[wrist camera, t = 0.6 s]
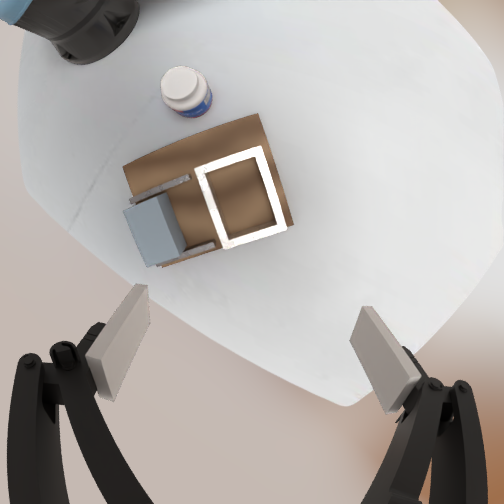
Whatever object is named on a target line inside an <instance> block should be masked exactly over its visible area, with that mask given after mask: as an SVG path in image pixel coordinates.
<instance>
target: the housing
mask: <svg viewBox="0 0 504 504" xmlns="http://www.w3.org/2000/svg"><path fill="white" fill-rule="evenodd" d="M123 212H124V215H125V218H126V220H127V223H128V225H129V227H130V230H131V232H132V235H133V237H134V239H135V242H136V244H137V246H138V249H139V251H140V253H141V256H142V258H143V260H144V262H145V264H146V267H150V266H152V265H155V264H158V263H161V262H164V261H167V260H170V259H173V258H176V257H179V256H180V255H181V254H182V252H183V251H184V249H185V248H186V246H187V244H186V241H185V239H184V236H183V234H182V231H181V229H180V226H179V224H178V221H177V219H176V216H175V213H174V211H173V208H172V206H171V203H170V200H169V198H168V195H167V192H166V193H163V194H161V195H158V196H156V197H154V198H151V199H149V200H147V201H144V202H142V203H140V204H137V205H135V206H133V207H131V208H129V209H126V210H124V211H123Z"/></svg>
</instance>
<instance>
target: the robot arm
mask: <svg viewBox="0 0 504 504" xmlns="http://www.w3.org/2000/svg"><path fill="white" fill-rule="evenodd" d="M138 16H139V5H138V3H137V1H136V0H0V19H1V20H3V21H5V22H7V23H8V24H9V25H15V26H18V27H20V28H23V29H25V30H27V31H30V32H32V33H35V34H37V35H39V36H41V37H44V38H46V39H48V40H50V41H51V42H52V44H53V45H54V47H55V48H56V50H57V51H58V53H59V54H60V56H61V57H62V58H64V59H65V60H67V61H69V62H72V63H74V64H88V63H92V62H95V61H97V60H99V59H101V58H103V57H105V56H106V55H108V54H109V53H111V52H112V51H113V50H115V49H116V48H117V47H118V46H119V45H120V44H121V43H122V42H123V41H124V40H125V39H126V38H127V37H128V35H129V34H130V33H131V31H132V30H133V28H134V26H135V24H136V22H137V19H138ZM149 325H150V316H149V301H148V285H142V284H135V285H134V287H133V288H132V289H131V291H130V292H129V293H128V295H127V296H126V297H125V299H124V300H123V301H122V303H121V304H120V306H119V307H118V308H117V310H116V311H115V313H114V314H113V315H112V317H111V318H110V320H109V321H108V322H107V324H105V323H100V322H98V323H96V324H95V325H93V326H92V327H91V328H90V329H89V330H88V332H87V334H86V335H85V336H84V337H83V339H82V340H81V341H80V343H79V344H78V345H77V347H76V346H75V345H74V344H73V343H71V342H68V341H61V342H58V343H56V344H54V345H53V346H52V347H51V349H50V356H51V359H52V361H53V363H43V362H42V360H41V358H40V357H39V356H38V355H37V354H33V353H29V354H25V355H24V356H22V357H21V358H20V359H19V362H18V365H17V369H16V374H15V379H14V385H13V391H12V397H11V405H10V413H9V423H8V438H7V473H8V474H7V475H8V489H9V498H10V504H70V503H69V499H68V494H67V489H66V484H65V477H64V471H63V464H62V455H61V444H60V428H59V405H65V408H66V411H67V414H68V417H69V420H70V423H71V426H72V429H73V431H74V434H75V437H76V440H77V442H78V445H79V447H80V450H81V452H82V454H83V457H84V459H85V461H86V463H87V465H88V468H89V470H90V472H91V474H92V476H93V478H94V480H95V482H96V484H97V486H98V488H99V490H100V491H101V493H102V495H103V496H104V499H105V500H106V502H107V504H154V503H153V502H152V500H151V499H150V498H149V496H148V495H147V494H146V492H145V491H144V489H143V488H142V486H141V485H140V483H139V482H138V480H137V479H136V477H135V475H134V474H133V472H132V471H131V469H130V467H129V466H128V464H127V463H126V461H125V459H124V457H123V456H122V454H121V452H120V450H119V448H118V447H117V445H116V443H115V441H114V439H113V437H112V435H111V433H110V431H109V429H108V427H107V425H106V423H105V421H104V418H103V416H102V414H101V412H100V410H99V407H98V405H97V403H96V400H95V398H94V395H95V393H96V391H98V394H99V397H100V398H104V399H107V400H110V401H115V398H116V396H117V394H118V391H119V389H120V387H121V385H122V382H123V380H124V378H125V376H126V373H127V371H128V369H129V367H130V365H131V362H132V360H133V358H134V356H135V354H136V352H137V349H138V347H139V345H140V343H141V341H142V339H143V337H144V335H145V333H146V331H147V329H148V327H149ZM349 341H350V343H351V345H352V347H353V348H354V350H355V352H356V354H357V356H358V358H359V360H360V362H361V364H362V366H363V368H364V370H365V372H366V374H367V377H368V379H369V381H370V383H371V385H372V387H373V389H374V391H375V393H376V395H377V397H378V399H379V402H380V404H381V406H382V408H383V410H384V412H385V414H391V413H396V412H398V410H399V409H400V408H401V406H402V405H403V407H404V409H405V410H404V411H403V413H402V414H401V415H400V417H399V418H398V419H397V421H396V422H395V423H397V422H398V421H399V423H398V426H397V429H396V431H395V434H394V437H393V439H392V441H391V444H390V446H389V449H388V451H387V453H386V456H385V458H384V460H383V463H382V464H381V466H380V468H379V470H378V473H377V475H376V477H375V479H374V481H373V482H372V485H371V486H370V488H369V490H368V492H367V494H366V495H365V497H364V499H363V501H362V502H361V504H422V502H421V501H419V499H418V498H419V495H420V493H421V490H422V487H423V484H424V481H425V478H426V474H427V471H428V468H429V464H430V461H431V457H432V468H431V486H430V498H429V504H488V487H487V471H486V460H485V452H484V444H483V439H482V432H481V427H480V422H479V417H478V412H477V408H476V403H475V399H474V396H473V392H472V388H471V386H470V385H469V384H468V383H467V382H465V381H462V380H458V381H456V382H455V383H454V385H453V386H452V387H447V386H444V385H443V384H442V383H441V381H439V380H438V379H436V378H432V377H431V378H429V377H428V376H427V374H426V373H425V371H424V370H423V368H422V367H421V365H420V364H419V363H418V361H417V360H416V359H415V358H414V356H413V354H412V353H411V351H410V350H408V349H407V348H406V347H404V346H401V345H400V344H399V342H398V341H397V339H396V338H395V337H394V335H393V334H392V333H391V331H390V330H389V328H388V327H387V326H386V324H385V323H384V322H383V320H382V319H381V318H380V316H379V315H378V314H377V312H376V311H375V310H374V308H373V307H372V306H362V308H361V311H360V314H359V316H358V319H357V322H356V325H355V327H354V330H353V333H352V335H351V338H350V340H349ZM453 416H454V419H452V418H453Z"/></svg>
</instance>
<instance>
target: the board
mask: <svg viewBox="0 0 504 504" xmlns="http://www.w3.org/2000/svg"><path fill="white" fill-rule="evenodd" d="M258 146H261V148H262V151H263V154H264V157H265V160H266V163H267V166H268V169H269V172H270V175H271V178H272V181H273V184H274V187H275V191H276V194H277V197H278V200H279V203H280V207H281V210H282V213H283V216H284V220H285V223H286V226H287V227H289V226H292V225H294V224H293V220H292V217H291V213H290V210H289V207H288V203H287V200H286V197H285V194H284V190H283V187H282V184H281V181H280V178H279V174H278V171H277V168H276V165H275V162H274V159H273V156H272V153H271V150H270V147H269V144H268V141H267V138H266V135H265V132H264V129H263V126H262V123H261V121H260V118H259V115H258V113H257V114H254V115H250V116H247V117H244V118H241V119H237V120H234V121H231V122H228V123H225V124H222V125H219V126H217V127H214V128H211V129H208V130H205V131H203V132H200V133H197V134H195V135H192V136H190V137H187V138H185V139H182V140H180V141H177V142H175V143H172V144H170V145H168V146H165V147H163V148H161V149H158V150H156V151H154V152H152V153H150V154H147V155H145V156H143V157H141V158H139V159H137V160H135V161H133V162H131V163H129V164H127V165H125V166H123V170H124V173H125V175H126V178H127V181H128V184H129V187H130V190H131V192H132V195H133V197H134V196H136V195H139V194H141V193H143V192H145V191H148V190H150V189H152V188H155V187H157V186H159V185H162V184H164V183H166V182H169V181H171V180H174V179H176V178H179V177H181V176H184V175H186V174H191V177H192V179H191V180H188V181H185V182H183V183H180V184H178V185H175V186H173V187H170V188H168V189H165V190H163V191H161V192H158V193H156V194H153V195H151V196H149V197H146V198H144V199H142V200H140V201H137V202H135V203H136V205H137V204H140V203H142V202H144V201H147V200H149V199H151V198H154V197H156V196H158V195H161V194H163V193H166V192H167V195H168V198H169V200H170V203H171V206H172V208H173V211H174V213H175V216H176V219H177V221H178V224H179V226H180V229H181V231H182V234H183V236H184V239H185V241H186V244H187V246H186V248H188V247H191V246H194V245H197V244H200V243H203V242H206V241H209V240H212V239H215V242H216V247H215V248H212V249H209V250H206V251H203V252H200V253H197V254H194V255H191V256H188V257H185V258H182V259H179V260H176V261H173V262H170V263H167V264H164V265H161V266H162V268H163V267H166V266H169V265H172V264H175V263H178V262H181V261H184V260H187V259H190V258H193V257H196V256H199V255H202V254H205V253H208V252H211V251H214V250H217V249H220V248H223V246H222V244H221V241H220V238H219V236H218V233H217V230H216V228H215V225H214V222H213V220H212V217H211V214H210V211H209V209H208V206H207V203H206V200H205V198H204V195H203V192H202V189H201V187H200V184H199V181H198V178H197V175H196V173H195V170H194V168H197V167H200V166H202V165H205V164H208V163H211V162H213V161H216V160H219V159H222V158H225V157H228V156H231V155H234V154H236V153H240V152H243V151H246V150H249V149H252V148H255V147H258ZM208 174H209V177H210V180H211V183H212V186H213V189H214V191H215V194H216V197H217V200H218V203H219V205H220V208H221V211H222V214H223V217H224V219H225V222H226V225H227V228H228V230H229V233H230V234H232V233H235V232H239V231H242V230H245V229H248V228H251V227H254V226H257V225H260V224H263V223H266V222H269V221H273V220H275V217H274V214H273V211H272V208H271V205H270V202H269V199H268V195H267V192H266V189H265V186H264V183H263V180H262V177H261V174H260V171H259V168H258V165H257V162H256V159H255V156H254V157H251V158H248V159H245V160H242V161H239V162H236V163H233V164H230V165H227V166H224V167H221V168H218V169H216V170H213V171H210V172H208ZM186 248H185V249H186Z"/></svg>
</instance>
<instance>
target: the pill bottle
mask: <svg viewBox="0 0 504 504" xmlns="http://www.w3.org/2000/svg"><path fill="white" fill-rule="evenodd" d="M161 95H162V99H163V101H164V102H165V103H166V104H167V105H168V106H169V107H170V108H172V109H173V110H174V111H176V112H177V113H179V114H180V115H182V116H184V117H187V118H196V117H199V116H201V115H203V114H204V113H206V112H207V111H208V109H209V108H210V106H211V104H212V93H211V90H210V88H209V86H208V83H207V81H206V79H205V77H204V76H203V75H202V74H201V73H200V72H199V71H197V70H195V69H191V68H189V67H186V66H177V67H174V68H172V69H170V70H168V71H167V72H166V73H165V74H164V76H163V78H162V80H161Z"/></svg>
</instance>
